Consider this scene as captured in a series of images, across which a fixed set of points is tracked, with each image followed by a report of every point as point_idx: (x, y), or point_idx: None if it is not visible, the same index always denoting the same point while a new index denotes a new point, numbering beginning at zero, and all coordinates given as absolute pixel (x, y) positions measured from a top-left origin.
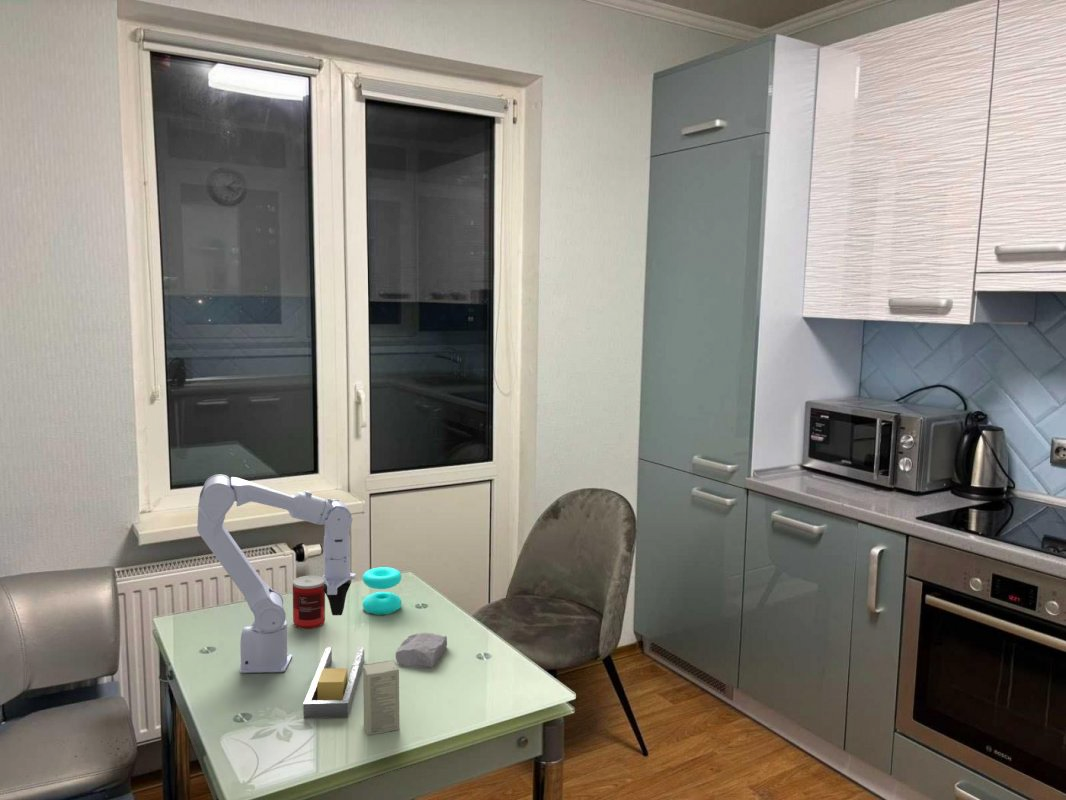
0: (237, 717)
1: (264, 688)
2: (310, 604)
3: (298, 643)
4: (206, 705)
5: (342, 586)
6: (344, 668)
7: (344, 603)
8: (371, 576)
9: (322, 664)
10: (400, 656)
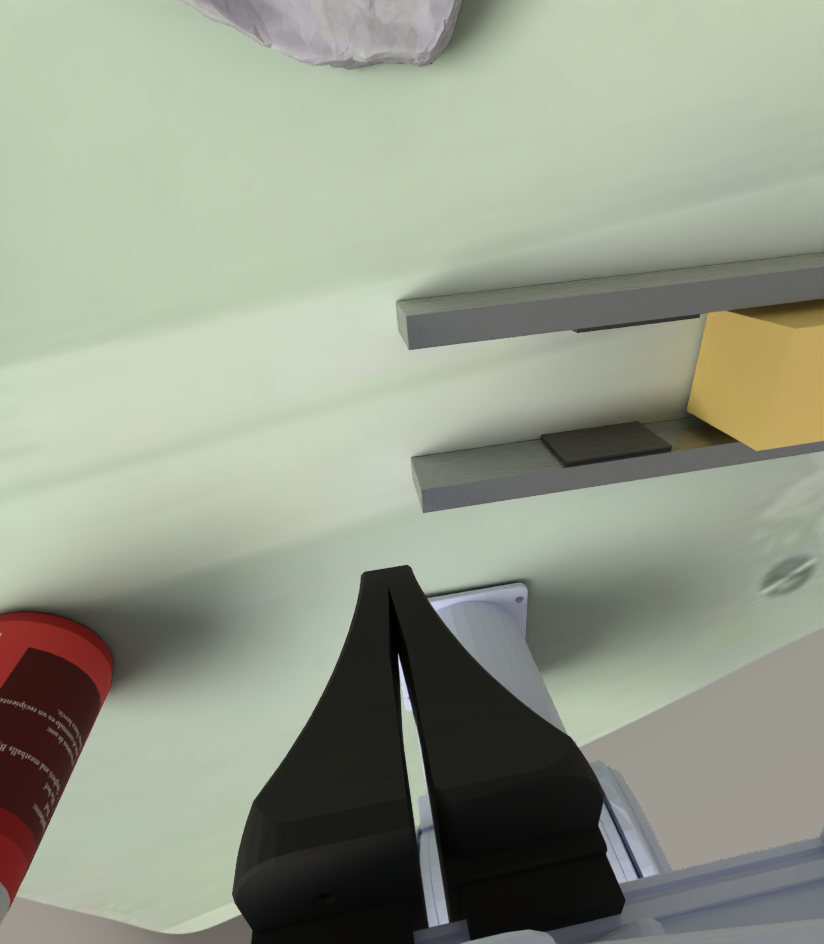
0: (783, 587)
1: (626, 591)
2: (42, 752)
3: (264, 624)
4: (693, 672)
5: (502, 844)
6: (794, 344)
7: (369, 622)
8: None
9: (608, 471)
10: (458, 7)
